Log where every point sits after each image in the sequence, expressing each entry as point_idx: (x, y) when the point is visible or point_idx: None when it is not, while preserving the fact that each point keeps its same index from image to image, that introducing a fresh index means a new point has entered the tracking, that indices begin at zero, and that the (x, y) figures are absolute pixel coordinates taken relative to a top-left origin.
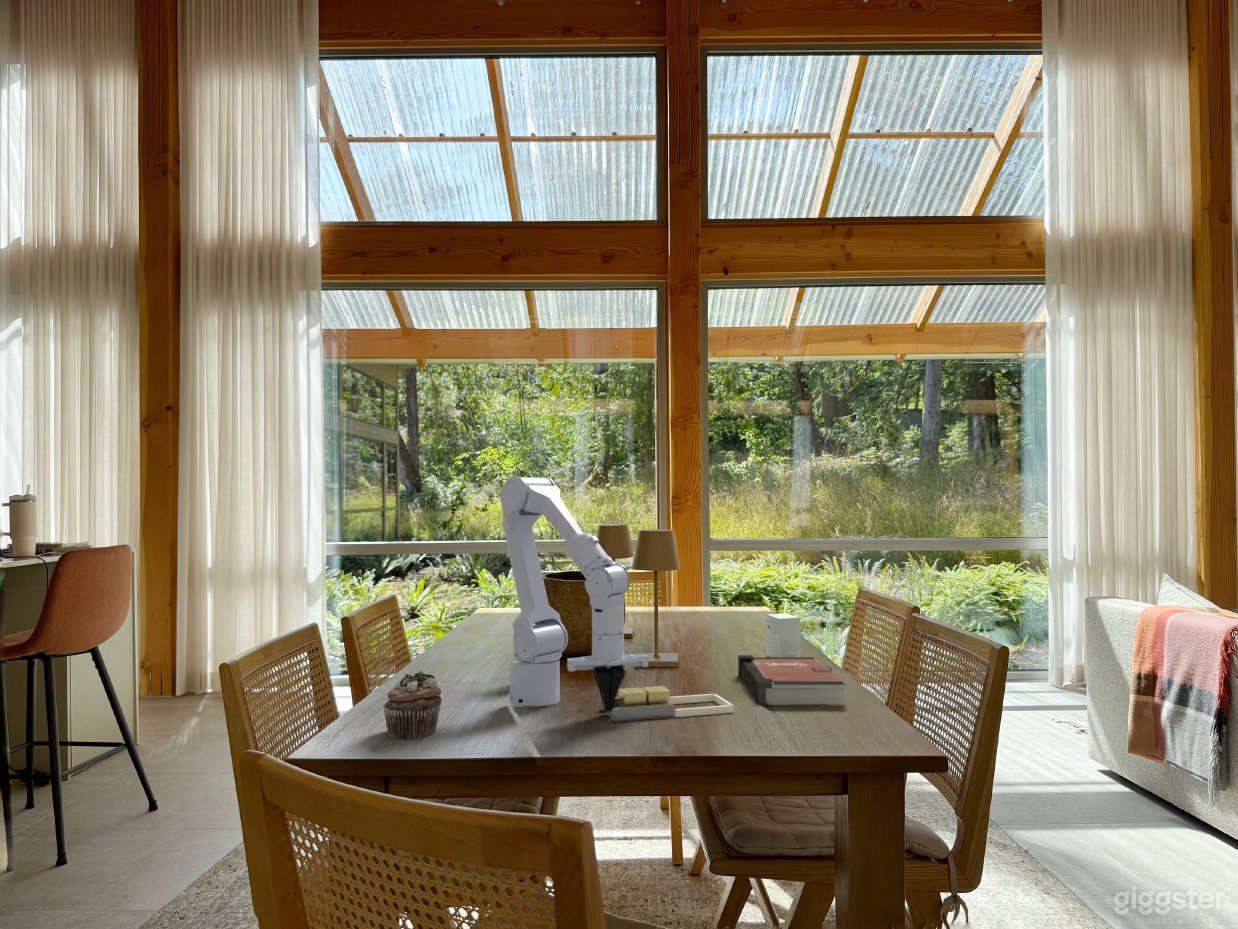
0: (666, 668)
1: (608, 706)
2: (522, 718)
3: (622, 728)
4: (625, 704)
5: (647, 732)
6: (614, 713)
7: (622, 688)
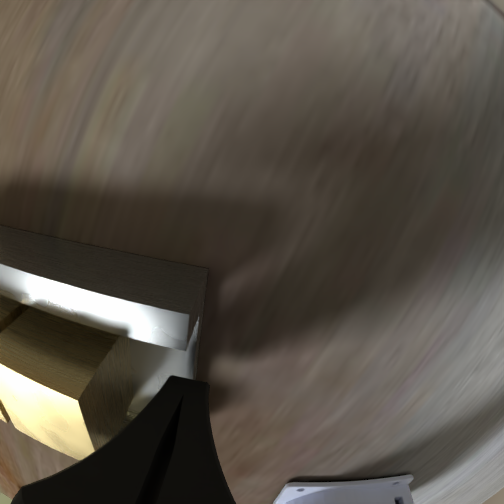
0: None
1: (192, 392)
2: (428, 445)
3: (178, 230)
4: (99, 357)
5: (97, 118)
6: (192, 301)
7: None
